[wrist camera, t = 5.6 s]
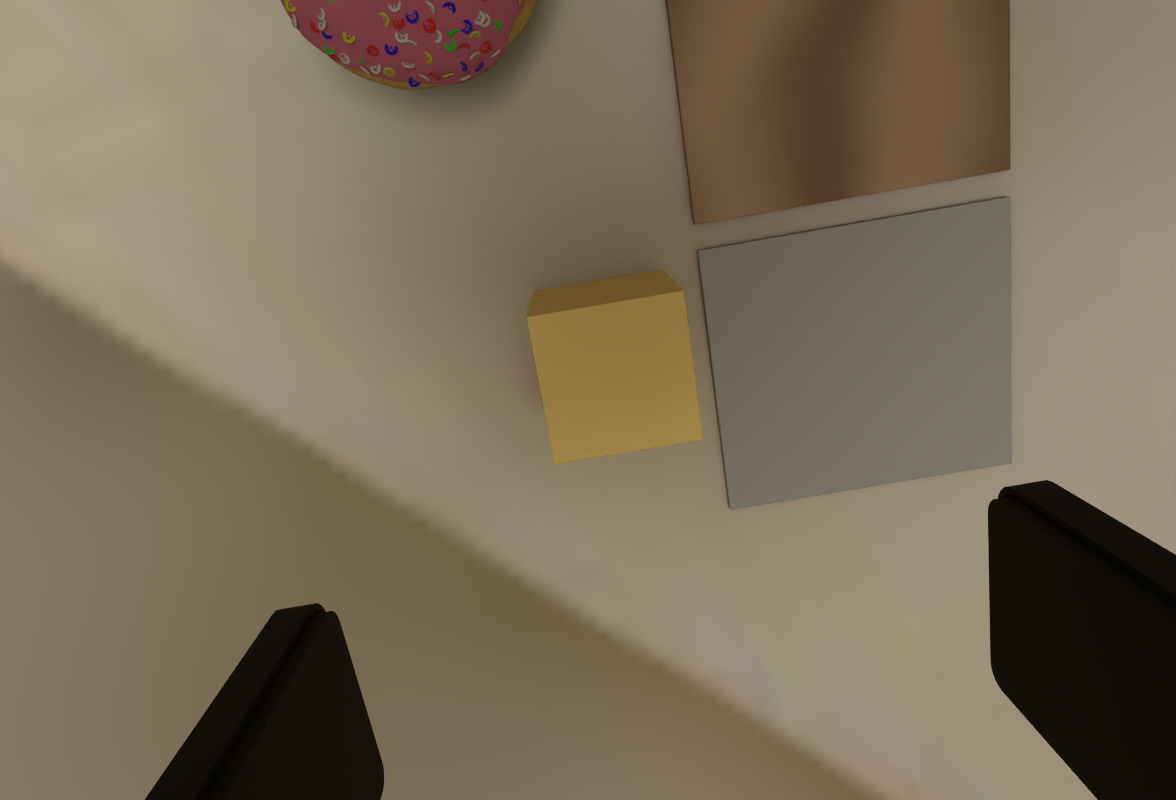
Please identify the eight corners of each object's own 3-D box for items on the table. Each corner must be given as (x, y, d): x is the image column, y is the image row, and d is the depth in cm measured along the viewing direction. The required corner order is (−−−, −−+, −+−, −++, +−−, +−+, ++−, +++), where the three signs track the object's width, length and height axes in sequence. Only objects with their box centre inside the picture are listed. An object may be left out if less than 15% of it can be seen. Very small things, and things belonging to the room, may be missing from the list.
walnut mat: (1003, -167, 25) (1008, -171, 24) (1005, 169, 28) (1010, 169, 27) (653, -103, 25) (654, -106, 25) (693, 224, 28) (695, 224, 28)
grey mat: (1006, 196, 28) (1010, 196, 28) (1007, 460, 31) (1011, 463, 31) (697, 250, 28) (698, 251, 28) (728, 506, 31) (730, 509, 31)
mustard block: (660, 269, 29) (683, 290, 23) (677, 390, 30) (703, 439, 24) (534, 291, 29) (526, 317, 23) (557, 411, 30) (554, 464, 24)
